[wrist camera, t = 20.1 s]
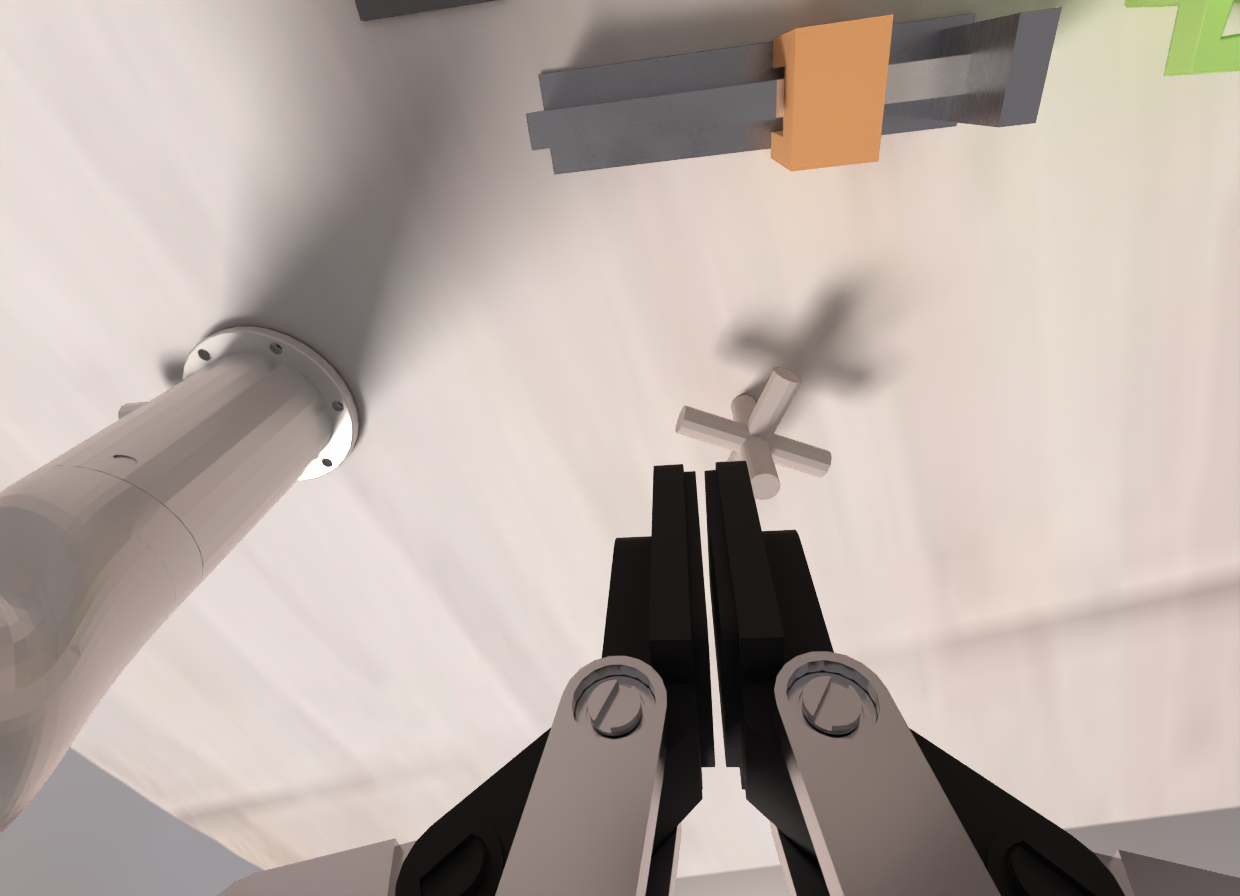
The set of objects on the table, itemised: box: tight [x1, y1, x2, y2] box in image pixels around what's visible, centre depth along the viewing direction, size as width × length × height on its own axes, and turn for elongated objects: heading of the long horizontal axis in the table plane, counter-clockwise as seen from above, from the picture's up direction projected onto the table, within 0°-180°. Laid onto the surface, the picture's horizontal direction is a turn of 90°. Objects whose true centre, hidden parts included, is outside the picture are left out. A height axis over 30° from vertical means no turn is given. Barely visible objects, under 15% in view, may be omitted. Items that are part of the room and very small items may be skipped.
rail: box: [526, 7, 1061, 174], centre depth 29 cm, size 22×5×8 cm, turn 97°
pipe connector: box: [676, 367, 832, 500], centre depth 38 cm, size 10×10×10 cm
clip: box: [771, 14, 894, 171], centre depth 29 cm, size 4×6×6 cm
